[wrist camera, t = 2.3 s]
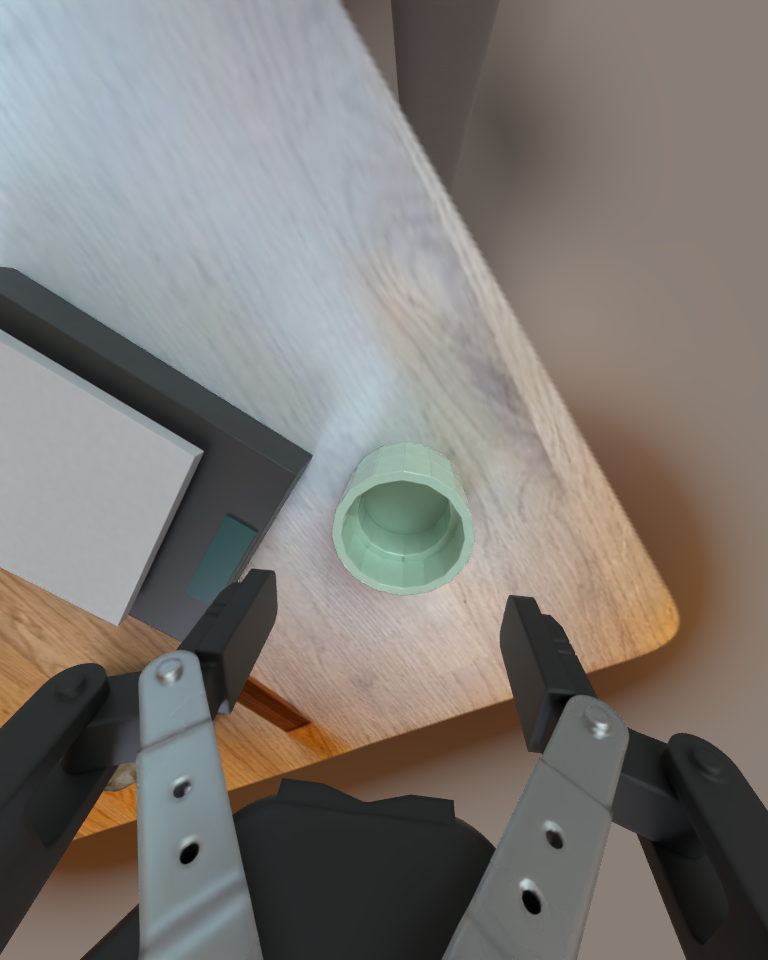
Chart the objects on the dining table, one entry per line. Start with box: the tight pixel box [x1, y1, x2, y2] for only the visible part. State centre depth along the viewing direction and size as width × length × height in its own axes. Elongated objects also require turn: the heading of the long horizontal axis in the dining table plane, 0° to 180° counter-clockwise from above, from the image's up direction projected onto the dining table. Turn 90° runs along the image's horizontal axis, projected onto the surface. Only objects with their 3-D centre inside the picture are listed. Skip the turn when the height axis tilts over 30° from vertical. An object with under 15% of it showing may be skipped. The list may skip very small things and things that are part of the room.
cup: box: [332, 442, 475, 595], centre depth 19 cm, size 6×6×5 cm
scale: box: [0, 267, 312, 642], centre depth 20 cm, size 14×17×5 cm
